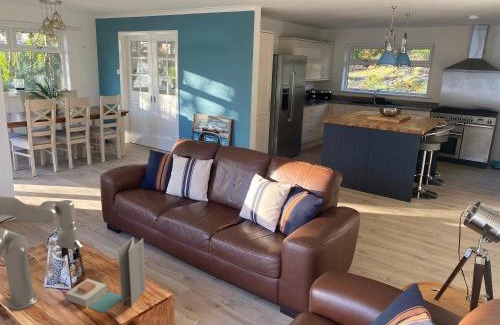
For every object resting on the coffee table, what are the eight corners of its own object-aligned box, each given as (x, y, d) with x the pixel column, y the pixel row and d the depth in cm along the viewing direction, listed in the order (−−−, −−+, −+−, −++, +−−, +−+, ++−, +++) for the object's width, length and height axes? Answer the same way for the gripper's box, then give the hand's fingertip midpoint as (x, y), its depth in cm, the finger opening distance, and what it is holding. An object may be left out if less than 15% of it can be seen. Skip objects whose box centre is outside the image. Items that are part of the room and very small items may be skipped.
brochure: (132, 306, 185) (128, 251, 177) (121, 304, 186) (118, 250, 178) (145, 289, 198) (143, 238, 190) (135, 288, 199) (133, 236, 191)
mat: (88, 307, 183) (88, 307, 183) (108, 291, 195) (108, 291, 195) (104, 313, 179) (104, 312, 179) (124, 297, 192) (124, 296, 192)
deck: (66, 300, 188) (65, 293, 187) (88, 285, 200) (87, 278, 199) (86, 307, 183) (85, 299, 182) (107, 291, 196) (106, 284, 195)
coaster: (77, 290, 189) (77, 287, 189) (86, 284, 195) (86, 280, 194) (86, 293, 187) (86, 290, 187) (95, 287, 192) (95, 283, 192)
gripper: (47, 224, 185) (51, 257, 190) (74, 231, 179) (77, 265, 183) (60, 219, 192) (63, 250, 196) (86, 225, 185) (89, 258, 190)
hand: (70, 257), depth 190 cm, fingers open, 6 cm apart
